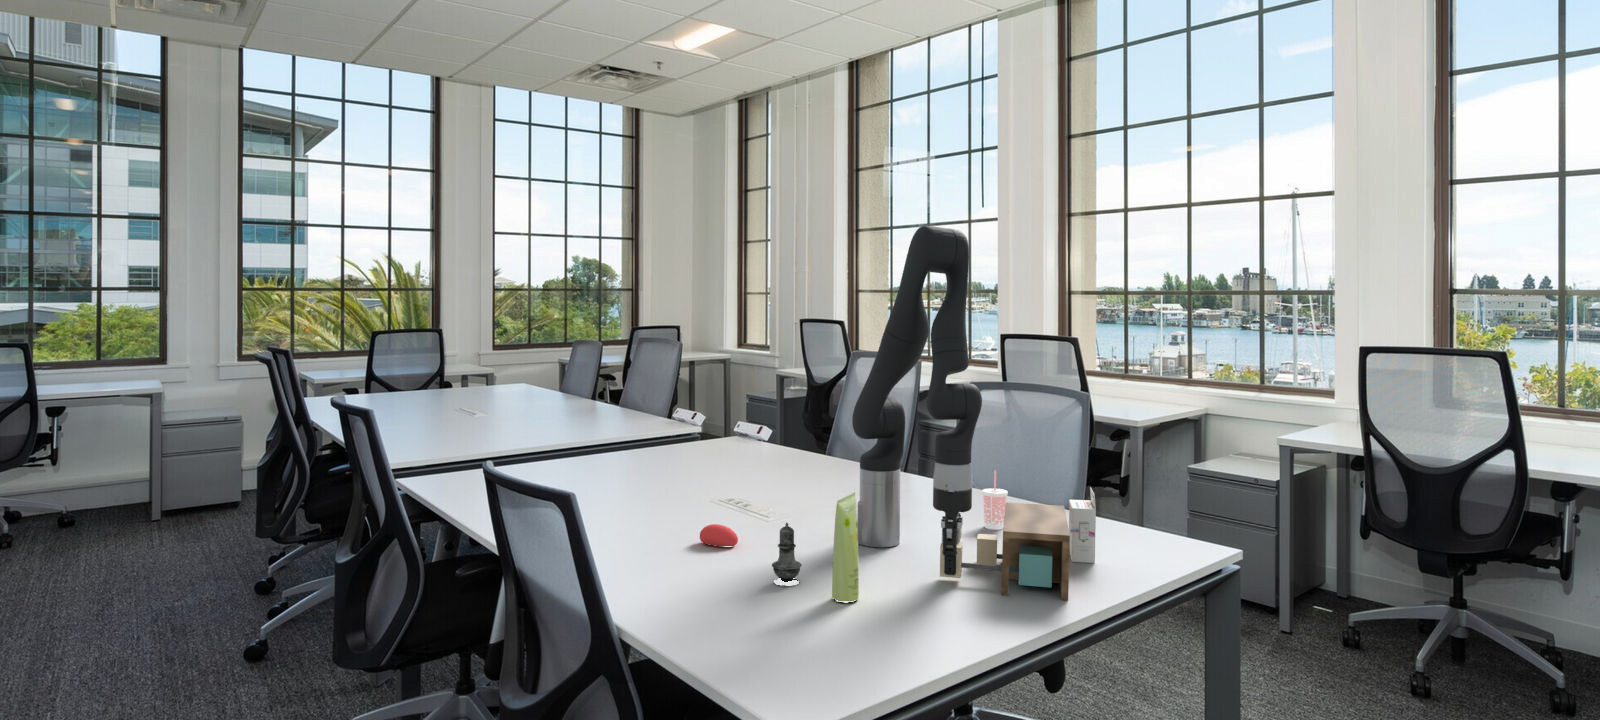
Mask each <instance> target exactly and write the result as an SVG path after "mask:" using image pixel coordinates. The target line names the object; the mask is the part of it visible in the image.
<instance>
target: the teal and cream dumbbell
mask: <svg viewBox="0 0 1600 720" xmlns="http://www.w3.org/2000/svg"><path fill="white" fill-rule="evenodd" d="M947 549H953V546H947ZM942 551H943V543H942V542H941V544H940V549H939V552H940V553H939V577H943V578H952V579H954V578H955V579H961V577H962V573H963V569H973V570H984V571H986V570H987V571H995V572H996V571H998V572H1002V565H998V564H997V565H986V564H977V563H974V562H973V563H972V562H971V563H970V562H963V542H961V541H960V543H959V544H957V556H956V574H955V575H946V574H945V573H944V561H945V556H944V555H943V553H942ZM1009 572H1019V580H1018V586H1030V587H1038V588H1039V587H1040V588H1052V585H1053V584H1052V583H1053V582H1052V549H1051V548H1050V547H1036V546H1023V545H1020V550H1019V567H1011V566H1009Z"/></svg>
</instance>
